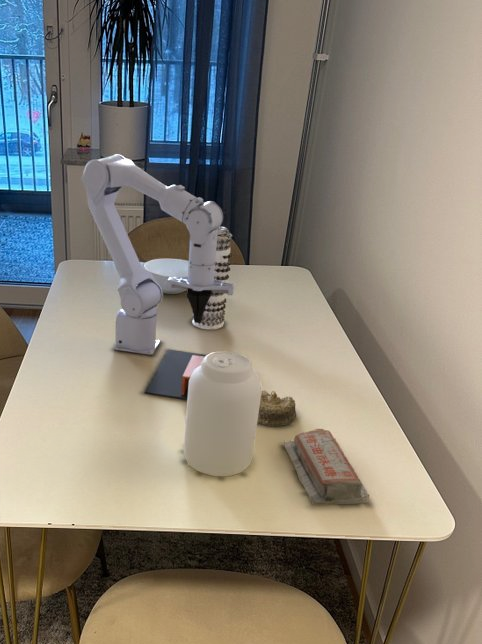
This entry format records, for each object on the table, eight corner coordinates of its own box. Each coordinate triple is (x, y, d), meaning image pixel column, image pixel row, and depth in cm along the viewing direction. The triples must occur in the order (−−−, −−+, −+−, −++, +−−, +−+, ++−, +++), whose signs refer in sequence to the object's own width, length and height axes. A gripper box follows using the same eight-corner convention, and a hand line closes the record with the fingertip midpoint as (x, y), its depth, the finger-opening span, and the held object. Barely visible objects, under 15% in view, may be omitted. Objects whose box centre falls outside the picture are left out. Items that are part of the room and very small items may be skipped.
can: (202, 485, 111) (212, 382, 101) (171, 446, 121) (177, 349, 110) (264, 469, 116) (280, 370, 105) (229, 433, 125) (240, 339, 115)
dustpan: (182, 375, 135) (225, 382, 133) (198, 343, 149) (237, 348, 147) (181, 394, 137) (223, 401, 135) (196, 360, 151) (235, 366, 149)
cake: (293, 432, 127) (296, 410, 124) (242, 424, 130) (245, 402, 127) (298, 405, 135) (302, 383, 132) (251, 397, 138) (253, 376, 134)
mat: (144, 393, 138) (144, 391, 138) (168, 350, 156) (168, 349, 156) (227, 406, 134) (228, 405, 134) (242, 361, 152) (242, 360, 152)
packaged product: (376, 481, 106) (316, 483, 105) (369, 505, 108) (311, 507, 107) (338, 423, 121) (286, 424, 120) (333, 444, 123) (282, 446, 122)
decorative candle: (216, 314, 176) (225, 222, 163) (230, 328, 169) (241, 232, 156) (185, 317, 174) (192, 224, 161) (198, 331, 166) (206, 234, 153)
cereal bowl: (200, 301, 185) (202, 277, 181) (142, 299, 185) (143, 275, 181) (197, 280, 199) (199, 258, 195) (143, 278, 199) (144, 256, 195)
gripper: (164, 264, 137) (162, 324, 144) (232, 271, 134) (227, 331, 141) (172, 254, 143) (170, 312, 150) (237, 261, 140) (232, 319, 147)
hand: (198, 321), depth 146 cm, fingers closed
